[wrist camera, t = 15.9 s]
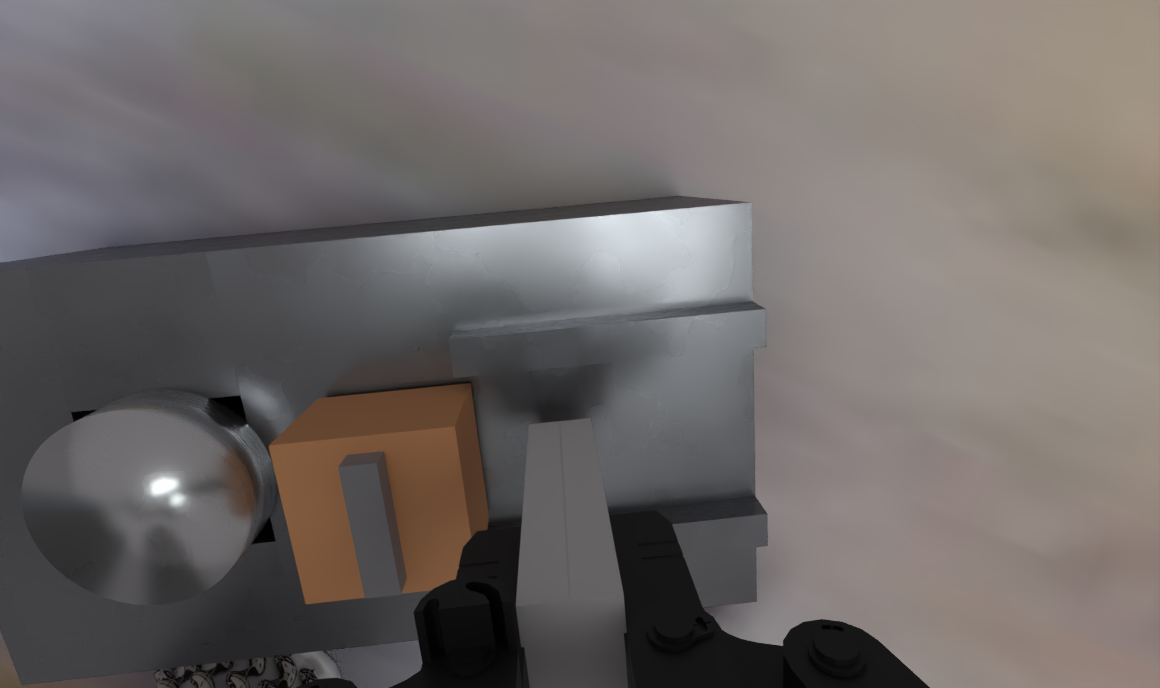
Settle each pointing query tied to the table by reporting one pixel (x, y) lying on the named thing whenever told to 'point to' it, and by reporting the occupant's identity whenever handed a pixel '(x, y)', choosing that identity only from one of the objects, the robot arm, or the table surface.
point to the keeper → (381, 491)
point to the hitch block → (389, 363)
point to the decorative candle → (252, 672)
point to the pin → (150, 495)
